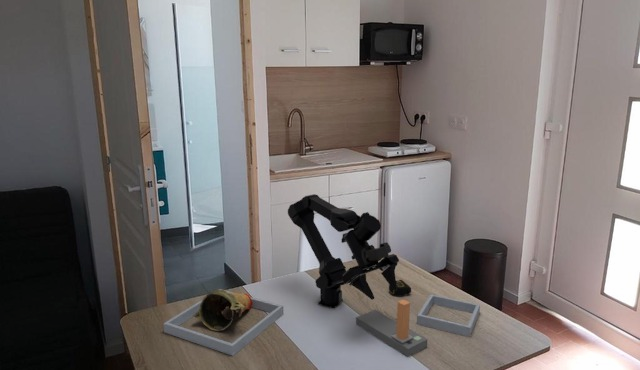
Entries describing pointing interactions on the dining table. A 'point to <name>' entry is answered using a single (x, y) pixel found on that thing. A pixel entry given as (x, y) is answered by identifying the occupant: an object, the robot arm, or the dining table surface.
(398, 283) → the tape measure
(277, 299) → the dining table surface
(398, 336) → the handle
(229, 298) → the pot
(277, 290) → the dining table surface
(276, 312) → the tray
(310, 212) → the robot arm
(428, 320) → the tray
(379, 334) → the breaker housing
